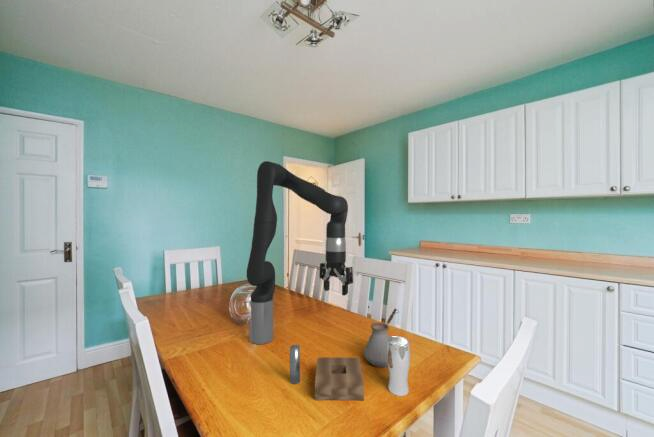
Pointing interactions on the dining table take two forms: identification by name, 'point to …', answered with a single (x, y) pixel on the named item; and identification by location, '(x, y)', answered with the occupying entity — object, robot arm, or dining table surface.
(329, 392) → the bore block
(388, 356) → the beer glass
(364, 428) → the dining table surface
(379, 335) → the coffee pot
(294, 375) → the pin
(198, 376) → the dining table surface
